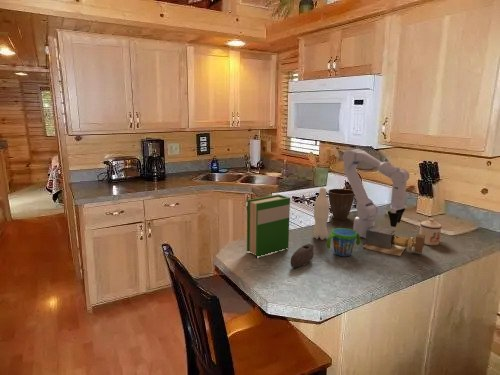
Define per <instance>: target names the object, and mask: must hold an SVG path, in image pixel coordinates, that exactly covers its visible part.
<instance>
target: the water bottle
mask: <svg viewBox="0 0 500 375" xmlns="http://www.w3.org/2000/svg"><path fill="white" fill-rule="evenodd" d="M313 205H314V207H313V208H314V209H313V217H314V229H313V231H312V235H313V237H314V239H315V238H316V239H315V240H318V239H320V241H321V240H322V241H323V240H326V239H327V238H328V235H329V231H328V227H327V223H328V220H329V218H330V216H329V214H330V202H329V198H327V188H326V187H320V188H319V191H318V196H317V198H316V200H315V202H314V204H313Z"/></svg>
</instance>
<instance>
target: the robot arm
mask: <svg viewBox="0 0 500 375" xmlns="http://www.w3.org/2000/svg"><path fill="white" fill-rule="evenodd" d="M341 159H342V160H343V170H344V173H345V176H346V179H347V180H348V182H349V183H348V184H349V185H350V187H351V190H352V191H353V192H354V195H355V196H354V198H355V199H356V202H357V203H356V206H355V207H356V212H357V216H356V217H354V220H353V228H352V230H354V231H355V232H357V233H358V234H359V236H360V238H365V239H366V231H367V229H368V228H369V227H370V226H374V227H375V221H376V220H375V219H376V217H375V216H376V215H377V214H378V212H379V209H378V207H377V205H376V204H375V203H374V202H373V201H374V200H372V199H371V198H369V197H368V195H367V192H366V189H365V188H364V185H363V183H362V181H361V180H362V179H361V178H360V176H359V173H358V171H357V167H358V166H359V164H360V163H361V162H364V163H366V164H368V165H370V166H372V167H375V168H376V169H378V173H380V174H381V175H384V176H385V177H387V178H389V179H390V181H392V188H391V198H390V204H389V207H390V210H387V215H388V218H389V223H390V227H391V228H396V227H397V225H398V224H399V223H401V220H402V217H403V214H404V212H405V210H406V209H407V208H408V207H407V206H406V205H405V200H406V190H407V183H408V182H407V181H409V179H410V173H409V171H407V170H406V169H404V168H401V167H400V166H395V165H393V164H392V162H390V161H383V162H382V160H379V159H377V158H376V157H374V156H372V155H371V154H369V153H367V151H366V150H363V149H362V148H356V149H347V150H345V151H344V153H343V155H342V158H341ZM400 168H401V169H400Z"/></svg>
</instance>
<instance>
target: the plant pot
mask: <svg viewBox="0 0 500 375" xmlns="http://www.w3.org/2000/svg"><path fill="white" fill-rule="evenodd" d="M327 192H328V202H329V208H330V211H331V214H332V218H333V219H335V220H338V221H339V220H340V221H344V220H347V219H348V216H349V215H350V213H351V210H352V206H353V203H354V201H355V200H354V199H355V195H354V192H353V190H352V189H346V188H332V189H329V190H328V191H327Z"/></svg>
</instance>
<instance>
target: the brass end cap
mask: <svg viewBox="0 0 500 375" xmlns="http://www.w3.org/2000/svg"><path fill="white" fill-rule="evenodd" d="M424 242H425V235H421V234H420V233H417V234H416V236H410V238H408V237H404V236H399V235H395V236H394V235H393V236H392V241H391V245H396V246H401V247H405V249H408V251H409V252H412V251H414V253H416V254H417V253H418V254H423V252H424V249H425V244H424Z"/></svg>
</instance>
